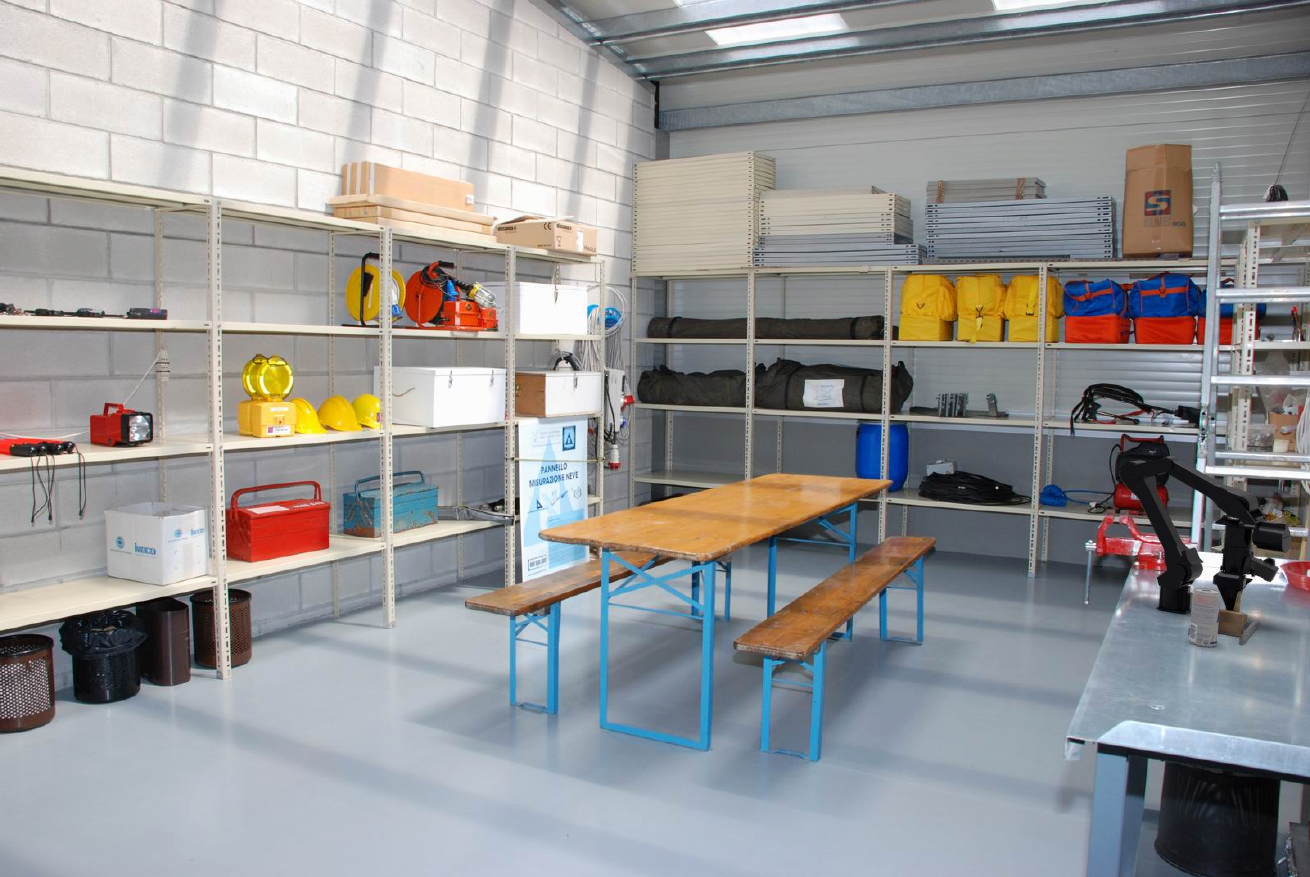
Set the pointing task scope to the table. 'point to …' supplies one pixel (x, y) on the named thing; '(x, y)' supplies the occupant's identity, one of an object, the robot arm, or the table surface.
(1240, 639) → the clamp rails
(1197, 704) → the table surface
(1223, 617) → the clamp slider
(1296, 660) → the table surface
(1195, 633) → the energy drink
